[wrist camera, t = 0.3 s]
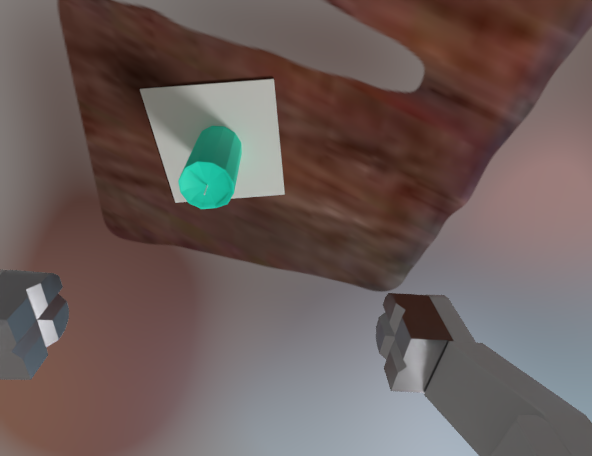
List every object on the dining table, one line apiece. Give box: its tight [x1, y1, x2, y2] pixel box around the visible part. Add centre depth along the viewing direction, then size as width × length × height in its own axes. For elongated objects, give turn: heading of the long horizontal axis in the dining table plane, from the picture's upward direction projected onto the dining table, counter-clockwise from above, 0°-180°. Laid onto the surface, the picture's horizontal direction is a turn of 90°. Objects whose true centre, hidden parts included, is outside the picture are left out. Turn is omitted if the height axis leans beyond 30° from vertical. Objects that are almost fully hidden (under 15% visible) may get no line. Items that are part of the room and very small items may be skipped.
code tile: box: [140, 79, 285, 203], centre depth 47 cm, size 16×16×1 cm
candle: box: [178, 126, 242, 209], centre depth 42 cm, size 6×6×12 cm
